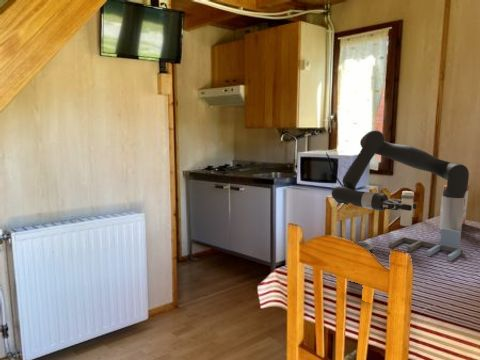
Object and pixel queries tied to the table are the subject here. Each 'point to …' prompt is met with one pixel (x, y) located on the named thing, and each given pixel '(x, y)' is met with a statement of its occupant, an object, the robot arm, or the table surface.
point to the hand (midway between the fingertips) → (413, 207)
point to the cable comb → (447, 243)
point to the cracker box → (464, 203)
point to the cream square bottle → (406, 214)
